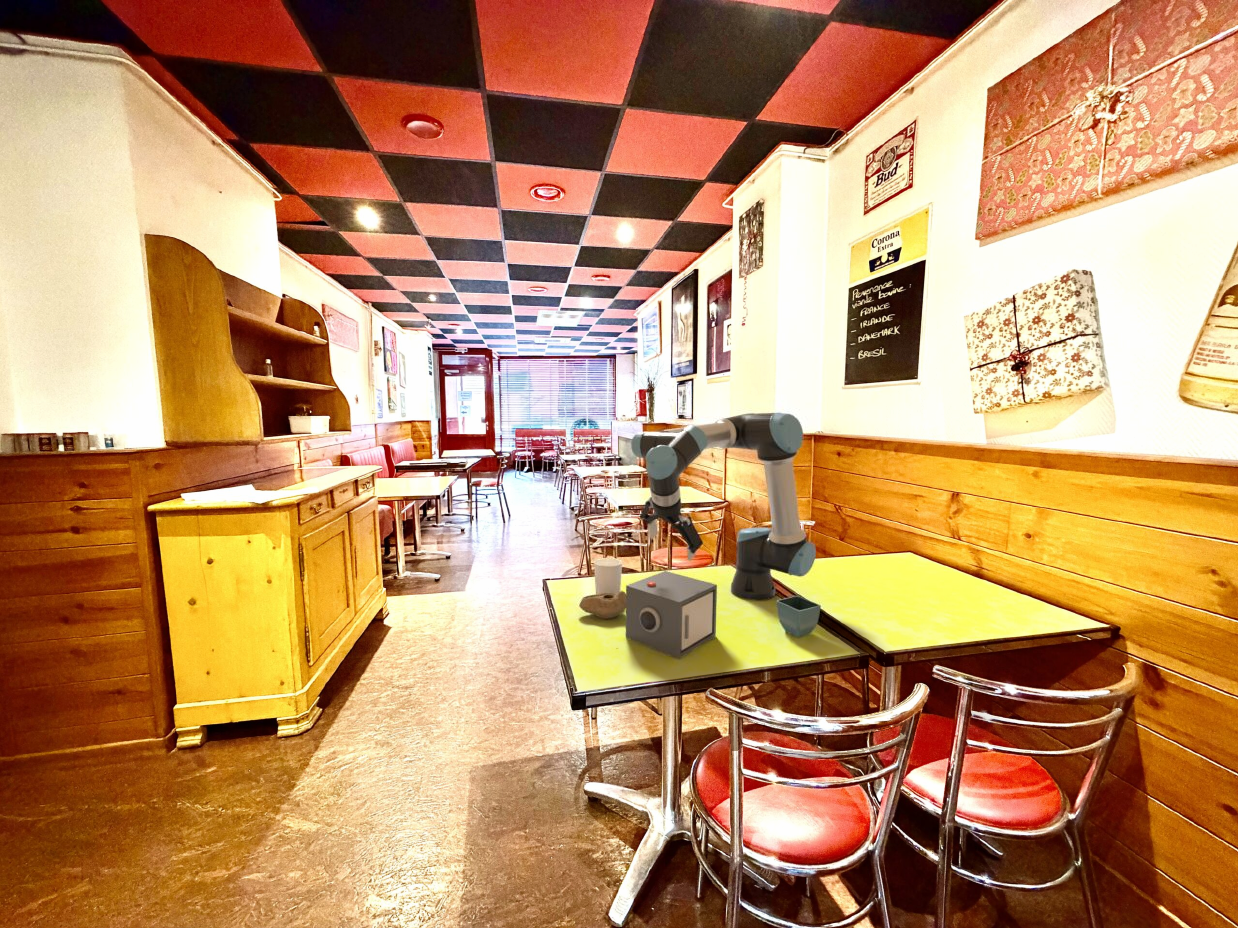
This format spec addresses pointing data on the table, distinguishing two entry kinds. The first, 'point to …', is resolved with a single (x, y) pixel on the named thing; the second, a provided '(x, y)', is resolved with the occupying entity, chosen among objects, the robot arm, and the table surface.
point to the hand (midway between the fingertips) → (672, 546)
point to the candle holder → (608, 575)
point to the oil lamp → (604, 604)
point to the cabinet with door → (664, 611)
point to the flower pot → (798, 615)
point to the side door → (696, 619)
